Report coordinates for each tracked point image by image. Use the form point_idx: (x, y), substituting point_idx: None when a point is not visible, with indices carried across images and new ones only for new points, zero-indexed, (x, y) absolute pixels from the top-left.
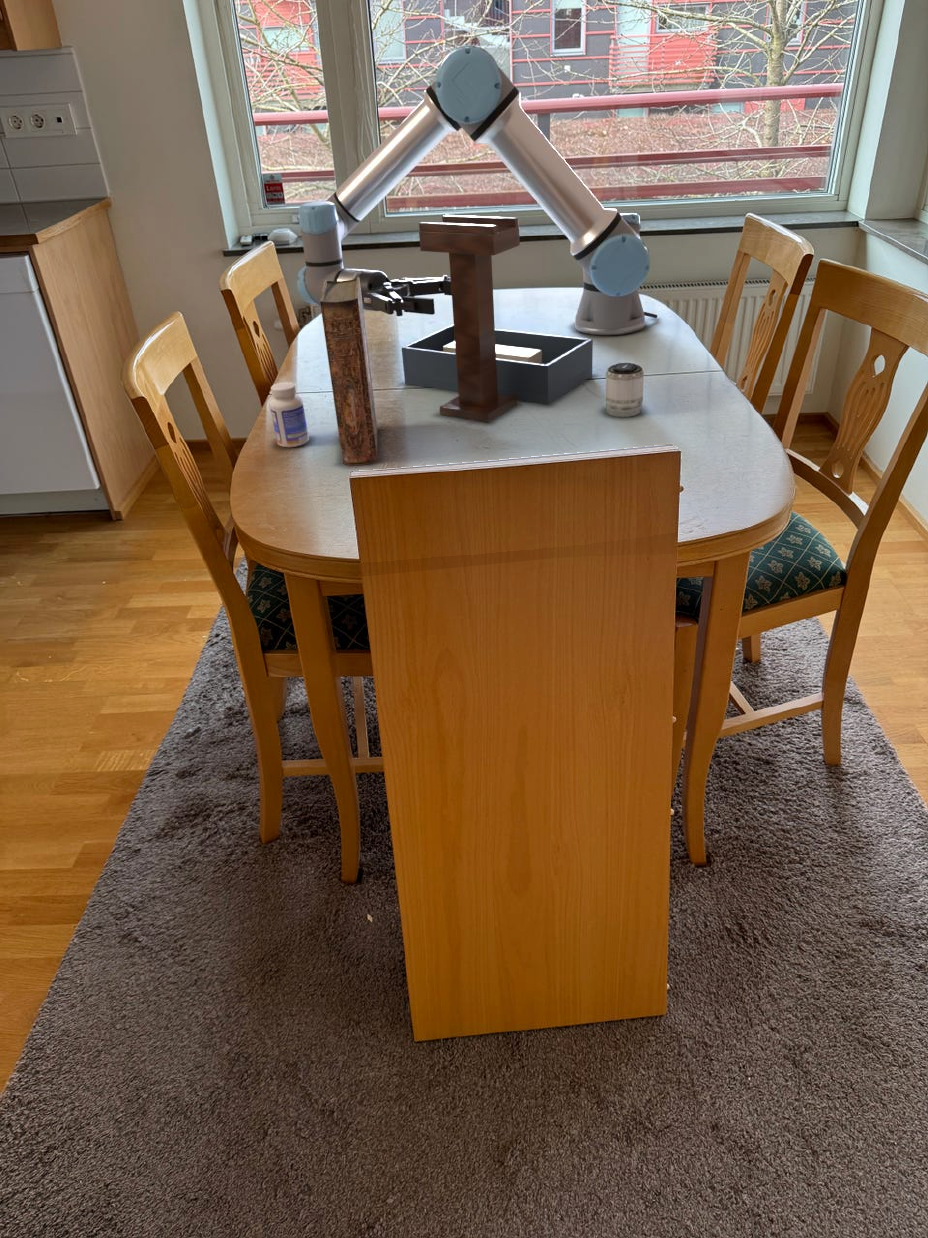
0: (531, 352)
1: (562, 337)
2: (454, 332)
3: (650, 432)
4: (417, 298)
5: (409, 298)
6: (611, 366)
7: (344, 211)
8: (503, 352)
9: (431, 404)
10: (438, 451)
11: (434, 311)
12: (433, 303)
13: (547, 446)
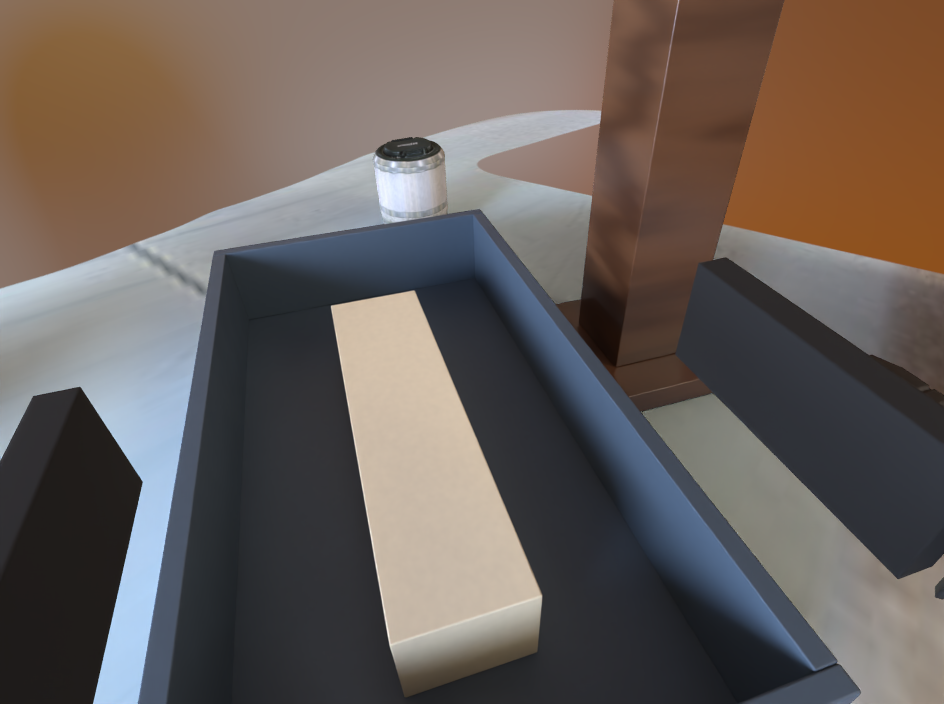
0: (370, 308)
1: (221, 297)
2: (745, 141)
3: (464, 188)
4: (833, 331)
5: (918, 400)
6: (413, 157)
7: None
8: (423, 353)
9: (738, 458)
10: (815, 272)
11: (680, 341)
12: (696, 293)
13: None
